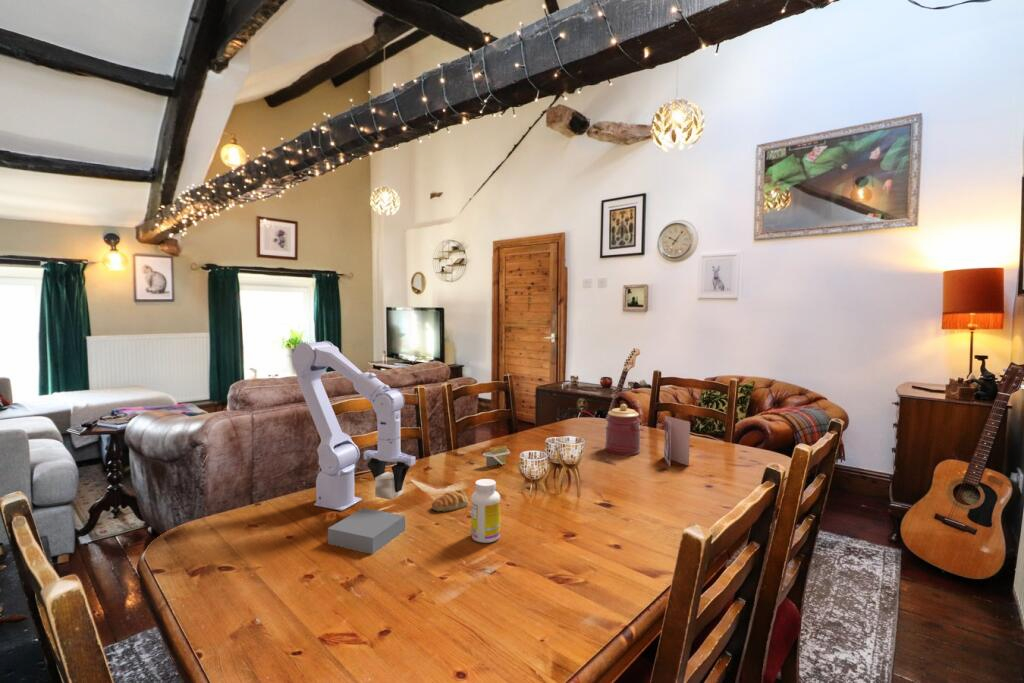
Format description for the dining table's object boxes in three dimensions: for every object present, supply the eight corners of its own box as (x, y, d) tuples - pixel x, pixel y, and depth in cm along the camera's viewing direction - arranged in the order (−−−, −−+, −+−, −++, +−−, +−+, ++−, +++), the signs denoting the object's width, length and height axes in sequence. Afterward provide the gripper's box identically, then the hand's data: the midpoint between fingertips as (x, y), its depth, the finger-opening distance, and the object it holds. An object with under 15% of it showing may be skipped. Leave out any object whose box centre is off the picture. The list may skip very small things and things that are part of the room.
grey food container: (529, 466, 162) (529, 447, 161) (485, 477, 151) (485, 456, 150) (508, 457, 171) (508, 439, 171) (465, 467, 160) (465, 448, 160)
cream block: (375, 496, 122) (375, 477, 122) (387, 490, 127) (386, 471, 127) (391, 499, 121) (391, 480, 120) (403, 492, 125) (403, 474, 125)
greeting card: (661, 456, 172) (662, 415, 171) (683, 457, 171) (684, 416, 170) (667, 466, 161) (668, 422, 160) (690, 467, 160) (691, 423, 159)
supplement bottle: (504, 533, 112) (504, 479, 111) (494, 546, 106) (494, 489, 105) (477, 528, 114) (478, 475, 113) (466, 541, 108) (466, 485, 107)
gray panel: (328, 545, 106) (327, 528, 106) (363, 523, 117) (363, 507, 117) (372, 556, 102) (372, 537, 102) (405, 532, 113) (405, 515, 113)
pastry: (440, 516, 121) (440, 501, 121) (426, 508, 126) (426, 494, 126) (470, 506, 128) (470, 492, 127) (455, 499, 133) (455, 485, 132)
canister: (605, 454, 174) (606, 406, 173) (604, 445, 187) (605, 400, 186) (642, 456, 172) (643, 408, 171) (638, 446, 185) (639, 401, 184)
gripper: (421, 436, 124) (422, 487, 125) (375, 430, 129) (375, 480, 130) (406, 443, 117) (406, 497, 118) (358, 437, 123) (358, 489, 123)
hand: (389, 489), depth 124 cm, fingers closed on cream block, 5 cm apart
